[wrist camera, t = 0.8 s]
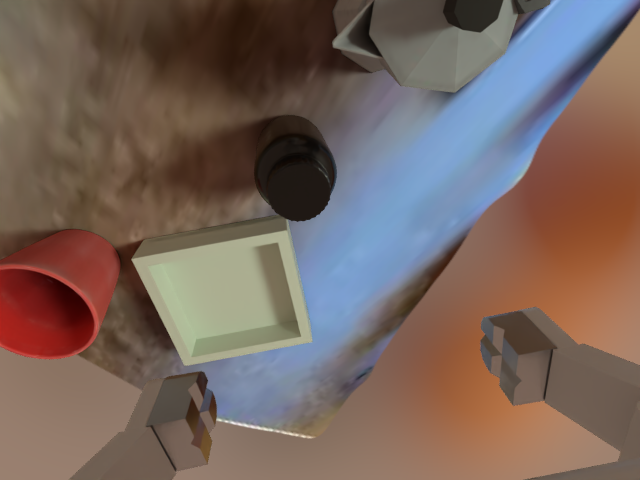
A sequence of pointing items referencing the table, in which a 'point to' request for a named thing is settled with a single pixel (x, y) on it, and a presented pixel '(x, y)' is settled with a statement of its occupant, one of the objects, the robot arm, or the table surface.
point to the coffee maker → (427, 37)
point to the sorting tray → (227, 289)
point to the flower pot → (56, 294)
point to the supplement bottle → (294, 168)
